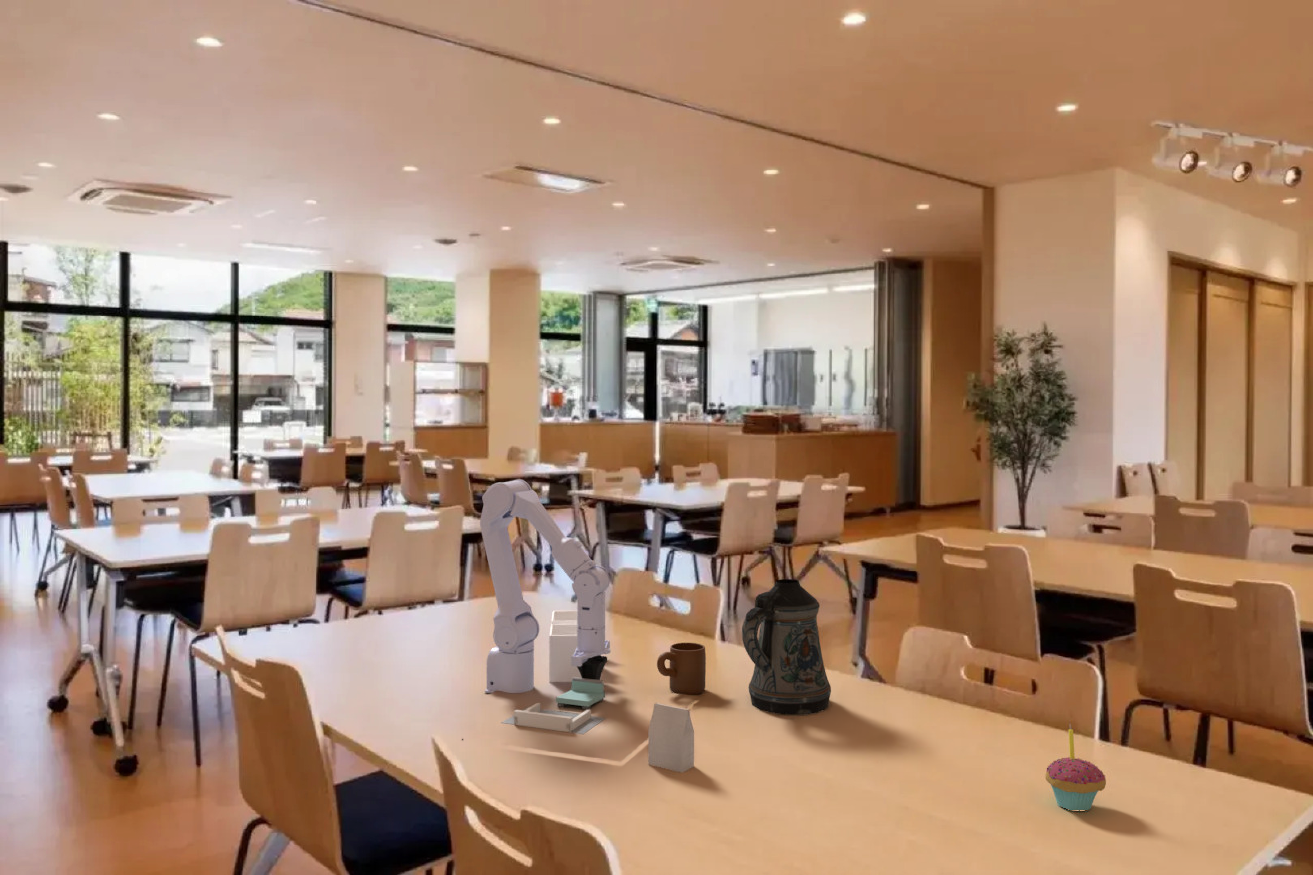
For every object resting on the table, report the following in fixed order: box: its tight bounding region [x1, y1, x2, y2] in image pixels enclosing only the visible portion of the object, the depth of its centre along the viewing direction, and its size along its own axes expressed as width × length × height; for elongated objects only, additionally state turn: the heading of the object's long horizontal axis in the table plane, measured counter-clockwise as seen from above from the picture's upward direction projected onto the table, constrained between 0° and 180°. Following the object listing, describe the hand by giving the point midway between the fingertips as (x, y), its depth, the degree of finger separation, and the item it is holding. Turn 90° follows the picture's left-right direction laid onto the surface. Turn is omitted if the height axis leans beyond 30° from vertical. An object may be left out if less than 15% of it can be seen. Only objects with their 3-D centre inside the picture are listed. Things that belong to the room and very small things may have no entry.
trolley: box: [555, 677, 606, 711], centre depth 204 cm, size 7×8×5 cm
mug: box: [656, 642, 707, 696], centre depth 213 cm, size 12×8×9 cm, turn 130°
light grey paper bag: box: [647, 702, 695, 773], centre depth 172 cm, size 4×7×10 cm, turn 57°
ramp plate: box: [545, 709, 580, 714], centre depth 200 cm, size 9×5×1 cm, turn 69°
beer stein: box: [741, 578, 832, 716], centre depth 205 cm, size 16×19×25 cm
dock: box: [501, 702, 606, 735], centre depth 193 cm, size 17×10×3 cm, turn 69°
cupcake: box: [1045, 723, 1107, 811], centre depth 155 cm, size 9×8×12 cm
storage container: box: [548, 610, 602, 683], centre depth 231 cm, size 25×11×11 cm, turn 4°
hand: (591, 692), depth 208 cm, fingers closed
